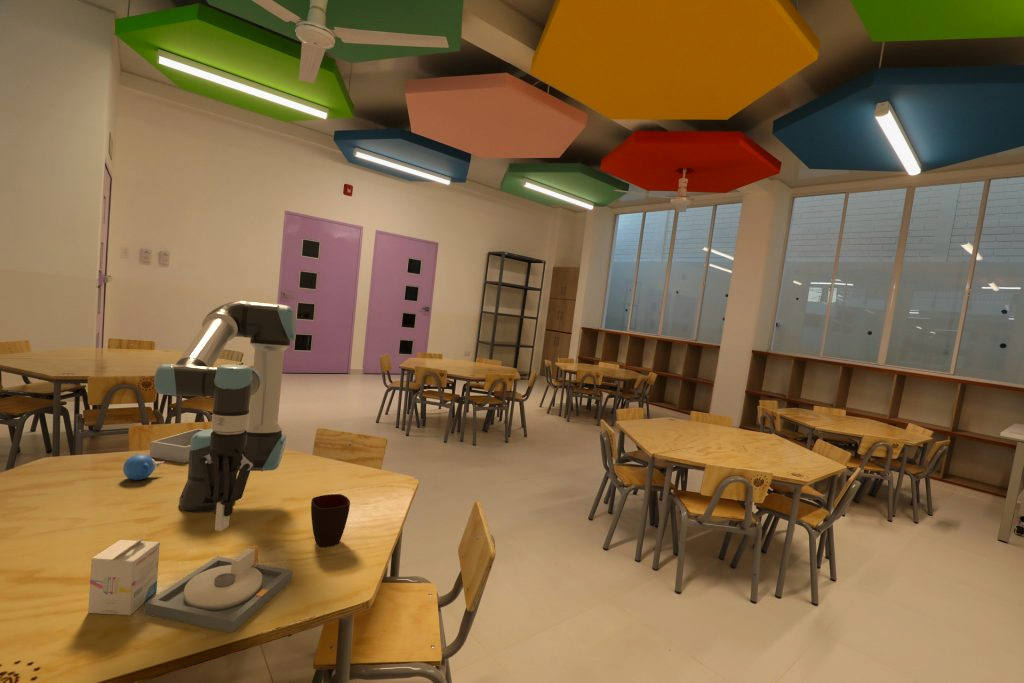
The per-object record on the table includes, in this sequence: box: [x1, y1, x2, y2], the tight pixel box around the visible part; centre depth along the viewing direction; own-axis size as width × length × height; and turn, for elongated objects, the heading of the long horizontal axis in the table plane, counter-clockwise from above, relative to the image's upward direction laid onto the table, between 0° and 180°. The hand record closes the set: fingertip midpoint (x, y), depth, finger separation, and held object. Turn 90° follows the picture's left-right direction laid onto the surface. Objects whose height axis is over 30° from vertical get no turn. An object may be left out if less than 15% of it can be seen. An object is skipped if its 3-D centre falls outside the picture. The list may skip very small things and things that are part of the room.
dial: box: [184, 545, 262, 610], centre depth 109 cm, size 18×15×5 cm
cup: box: [310, 493, 351, 548], centre depth 137 cm, size 10×14×12 cm
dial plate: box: [143, 555, 293, 634], centre depth 108 cm, size 20×20×3 cm
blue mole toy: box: [122, 453, 166, 481], centre depth 166 cm, size 12×12×8 cm
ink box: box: [87, 534, 161, 616], centre depth 102 cm, size 9×8×13 cm
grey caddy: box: [149, 428, 205, 463], centre depth 196 cm, size 15×23×6 cm, turn 172°
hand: (221, 528), depth 115 cm, fingers closed
